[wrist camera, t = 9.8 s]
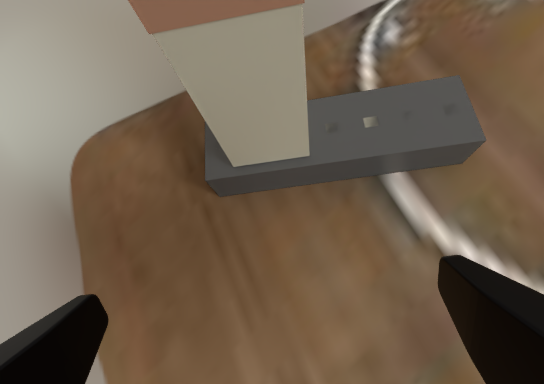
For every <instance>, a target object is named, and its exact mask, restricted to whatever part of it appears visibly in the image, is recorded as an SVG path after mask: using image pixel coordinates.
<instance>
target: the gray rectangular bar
mask: <svg viewBox="0 0 544 384" xmlns="http://www.w3.org/2000/svg"><path fill="white" fill-rule="evenodd" d="M307 112H308V133H309V153H310V156H305V157H298V158H292V159H285V160H278V161H271V162H264V163H258V164H251V165H244V166H237V167H233V165H232V164H231V162H230V160H229V159H228V157H227V155H226V154H225V152H224V151H223V149H222V147H221V146H220V144H219V142H218V141H217V139H216V138H215V136H214V134H213V133H212V131H211V129H210V128H209V126H208V125H207V123H206V121H205V181H206V182H207V183H208V184H209V185H210V186H211V188H212V189H213V190H214V191H215V192H216V193H217V194H218V195H219V196H220V197H221V196H228V195H236V194H243V193H250V192H258V191H265V190H272V189H279V188H287V187H294V186H301V185H308V184H316V183H323V182H330V181H337V180H345V179H352V178H359V177H366V176H374V175H381V174H388V173H396V172H403V171H410V170H417V169H425V168H432V167H439V166H446V165H454V164H461V163H463V162H464V161H465V160H466V159H467V158H468V157H469V156H470V155H471V154H472V153H473V152H475V151H476V150H477V149H478V148H479V147H480V146H481V145H482V144H483V143H484V142H485V141H486V138H485V136H484V133H483V131H482V128H481V126H480V124H479V121H478V119H477V117H476V114H475V112H474V109H473V107H472V105H471V102H470V100H469V97H468V95H467V93H466V90H465V88H464V86H463V83H462V81H461V78H460V76H459V75H457V76H451V77H445V78H439V79H433V80H427V81H421V82H416V83H410V84H404V85H398V86H392V87H386V88H380V89H374V90H368V91H362V92H356V93H350V94H344V95H338V96H332V97H326V98H320V99H314V100H308V101H307Z"/></svg>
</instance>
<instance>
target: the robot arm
mask: <svg viewBox="0 0 544 384" xmlns="http://www.w3.org/2000/svg"><path fill="white" fill-rule="evenodd" d="M438 289H439V292H440V295H441V297H442V299H443V301H444V303H445V305H446V307H447V309H448V312H449V314H450V316H451V318H452V320H453V322H454V324H455V327H456V329H457V331H458V333H459V335H460V337H461V339H462V342H463V344H464V346H465V348H466V350H467V352H468V354H469V356H470V357H471V359H472V361H473V363H474V365H475V366H476V368H477V370H478V371H479V373H480V375H481V376H482V378H483V380H484V381H485V383H486V384H544V294H541V293H539V292H537V291H535V290H533V289H531V288H529V287H527V286H525V285H522V284H520V283H518V282H516V281H514V280H512V279H510V278H508V277H505V276H503V275H501V274H499V273H497V272H495V271H493V270H491V269H489V268H486V267H484V266H482V265H480V264H478V263H476V262H474V261H472V260H469V259H467V258H465V257H463V256H461V255H452V256H444V257H442V258H441V259H440V262H439V273H438ZM107 325H108V315H107V313H106V311H105V309H104V307H103V305H102V304H101V302H100V300H99V298H98V297H97V296H96V295H94V294H89V295H81V296H78V297H76V298H75V299H73V300H71V301H70V302H68V303H66V304H65V305H63V306H62V307H60V308H58V309H57V310H55V311H54V312H52V313H50V314H49V315H47V316H45V317H44V318H42V319H40V320H39V321H37V322H36V323H34V324H32V325H31V326H29V327H28V328H26V329H24V330H23V331H21V332H19V333H18V334H16V335H15V336H13V337H12V338H10V339H8V340H7V341H5V342H3V343H2V344H0V384H85V382H86V380H87V377H88V375H89V372H90V370H91V367H92V365H93V362H94V359H95V357H96V354H97V352H98V349H99V346H100V344H101V341H102V339H103V336H104V333H105V331H106V328H107Z"/></svg>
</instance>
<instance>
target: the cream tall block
mask: <svg viewBox="0 0 544 384" xmlns="http://www.w3.org/2000/svg"><path fill="white" fill-rule="evenodd" d="M128 1H129V3H130V4H131V6H132V7H133V9H134V11H135V12H136V14H137V15H138V17H139V19H140V20H141V22H142V23H143V25H144V27H145V28H146V30H147V32H148V33H149V34H152V35H153V36H154V38H155V40H156V41H157V43H158V45H159V46H160V48H161V49H162V51H163V52H164V54H165V56H166V57H167V59H168V60H169V63H170V64H171V66H172V67H173V69H174V70H175V72H176V74H177V76H178V77H179V79H180V80H181V82H182V84H183V85H184V87H185V89H186V90H187V92H188V94H189V95H190V97H191V98H192V100H193V102H194V103H195V105H196V107H197V108H198V110H199V111H200V113H201V115H202V116H203V118H204V120H205V121H206V123H207V125H208V126H209V128H210V129H211V131H212V133H213V134H214V136H215V138H216V139H217V141H218V142H219V144H220V146H221V147H222V149H223V151H224V152H225V154H226V155H227V157H228V159H229V160H230V162H231V164H232V165H233V167H237V166H244V165H251V164H258V163H264V162H271V161H278V160H285V159H292V158H298V157H305V156H310V153H309V133H308V112H307V91H306V71H305V50H304V31H303V9H302V3H304V0H128Z"/></svg>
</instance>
